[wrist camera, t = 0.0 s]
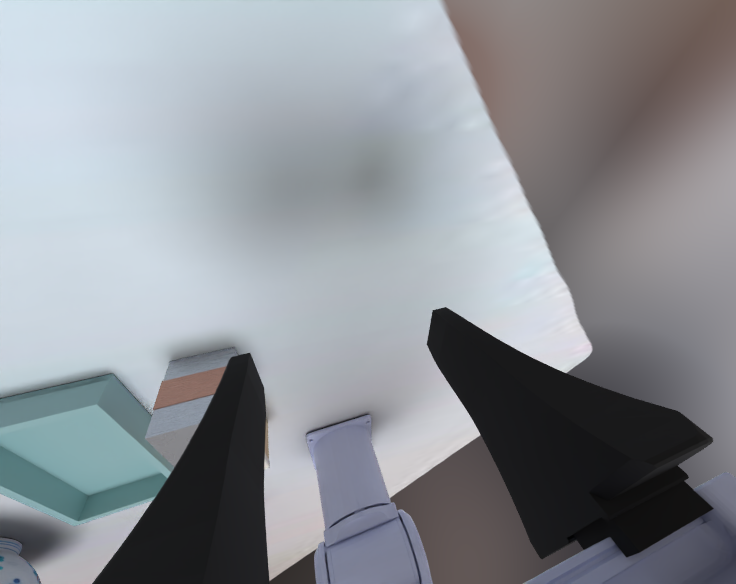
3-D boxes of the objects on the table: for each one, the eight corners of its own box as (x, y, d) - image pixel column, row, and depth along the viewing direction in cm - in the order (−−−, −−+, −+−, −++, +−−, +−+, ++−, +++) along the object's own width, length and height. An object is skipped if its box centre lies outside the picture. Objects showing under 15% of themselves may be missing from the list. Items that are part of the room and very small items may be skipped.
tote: (193, 461, 28) (188, 488, 27) (87, 494, 26) (74, 526, 24) (112, 373, 20) (96, 404, 18) (-58, 411, 17) (-96, 451, 16)
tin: (251, 381, 25) (249, 448, 20) (193, 396, 23) (177, 471, 19) (235, 345, 22) (229, 414, 17) (168, 360, 21) (143, 438, 16)
